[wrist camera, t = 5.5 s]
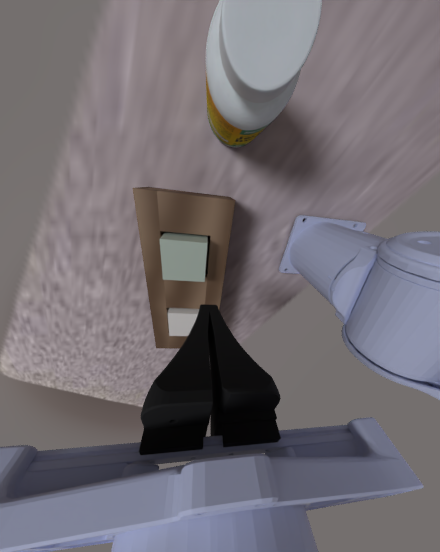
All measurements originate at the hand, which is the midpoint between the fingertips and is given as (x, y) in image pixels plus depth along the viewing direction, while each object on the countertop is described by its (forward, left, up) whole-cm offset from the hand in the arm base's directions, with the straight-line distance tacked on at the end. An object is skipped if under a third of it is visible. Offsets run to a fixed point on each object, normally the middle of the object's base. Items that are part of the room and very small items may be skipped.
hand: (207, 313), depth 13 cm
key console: (+3, +3, -10) cm, 11 cm away
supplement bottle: (-1, -15, -11) cm, 19 cm away
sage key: (+3, -2, -8) cm, 9 cm away
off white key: (+3, +8, -9) cm, 12 cm away
